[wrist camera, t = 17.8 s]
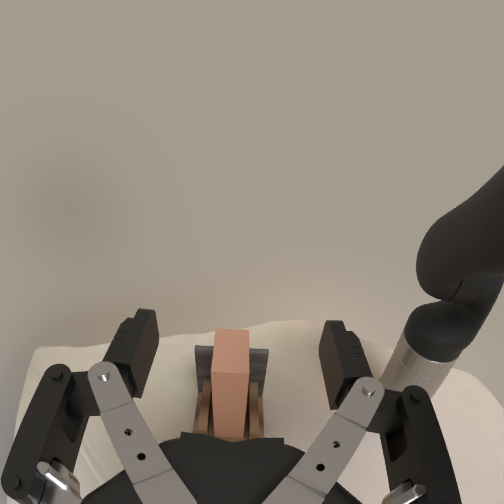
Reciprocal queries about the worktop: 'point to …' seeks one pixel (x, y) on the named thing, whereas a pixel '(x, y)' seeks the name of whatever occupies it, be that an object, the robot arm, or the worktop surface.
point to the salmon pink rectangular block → (230, 381)
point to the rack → (254, 395)
